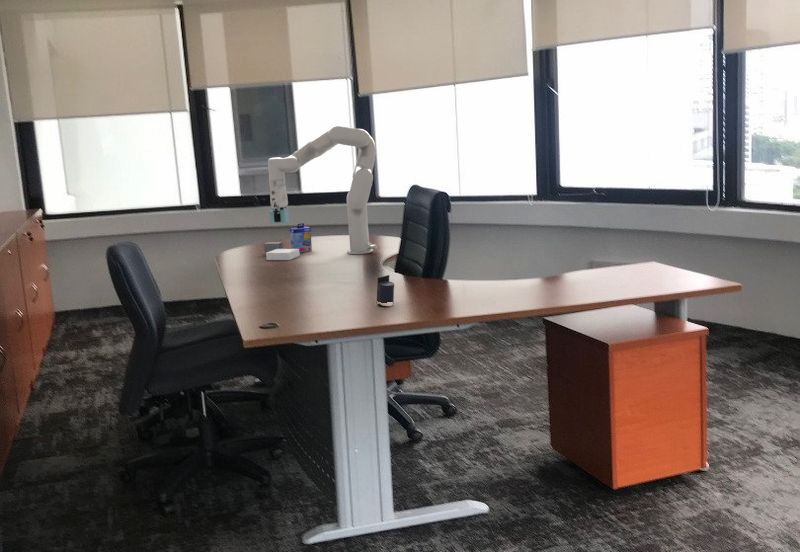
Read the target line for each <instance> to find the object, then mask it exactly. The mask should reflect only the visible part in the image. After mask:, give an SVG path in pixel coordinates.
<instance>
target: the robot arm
mask: <svg viewBox="0 0 800 552" xmlns="http://www.w3.org/2000/svg"><path fill="white" fill-rule="evenodd" d="M337 145H342V146H350V147H355V148H357V150H358V152H357V153H358V154H357V158H356V163H355V167H354V170H353V173H352V181H351V186H350V188H349V191H348V192H347V195H346V209H347V222H348V223H347V224H348V237H349V239H348V240H349V249H347V250H346V253H347V254H348V255H364V254H369V253H372V252H373V250H377V249H378V245H377V244H372V242H370V238H369V237H370V235H369V220H368V219H369V218H368V206H367V205H368V204H367V203H368V201H369V198H370V195H371V194H370V193H371V189H372V186H373V181H374V175H373V170H374V166H375V161H376V160H375V159H376V157H377V156H376V155H377V147H376V144H375V141H374V139H373V137H372V136H371V135H370V133H369V132H368V131H367V130H365V129H363V128H354V127H348V126H342V125H340V124H335V125H332V126H331V127H329V128H328V129H326V130H325V131H323V132H322V133H320V134H319V135H317V136H316V137H314V138H313V139H311V140H310V141H308V143H306V144H305V145H304V146H302V147H301V148H299V149H298V150H296V151H294V152H293V153H292V154H291V155H289V156H287V157H270V158H268V160H267V169H268V181H269V189H270V193H269V197H270V199H269V201H270V209H271V211H272V210H273V214H274V222H281V217H280V214H279V210H286V208H287V206H288V205H289V200H288V192H287V187H286V177H285V176H286V175H285V173H296V172H298V170H299V169H300V168H301V167H303V166H304V165H306V164H308V163H309V162H311V161H312V160H315V159H317V158H319V157H321V156H322V155H324V154H325V153H327V152H328V151H329V150H331V149H333V148H334V147H336V146H337Z"/></svg>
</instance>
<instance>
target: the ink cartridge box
mask: <svg viewBox="0 0 800 552" xmlns="http://www.w3.org/2000/svg"><path fill="white" fill-rule="evenodd" d="M289 236H290V237H289V238H290V249H299V253H305V252H312V251H313V247H312V246H313V245H312V228H311V227H310V226H305V222H302V223H301V222H300V223H297V226H296V227H291V228H289Z"/></svg>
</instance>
